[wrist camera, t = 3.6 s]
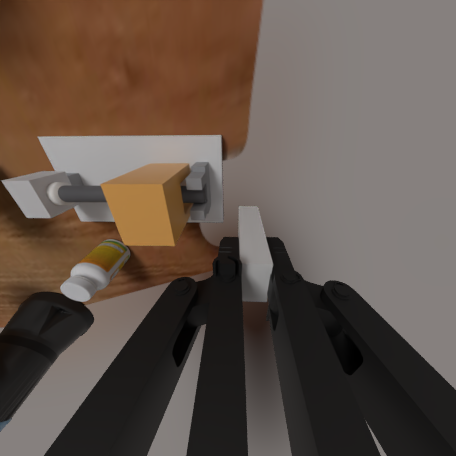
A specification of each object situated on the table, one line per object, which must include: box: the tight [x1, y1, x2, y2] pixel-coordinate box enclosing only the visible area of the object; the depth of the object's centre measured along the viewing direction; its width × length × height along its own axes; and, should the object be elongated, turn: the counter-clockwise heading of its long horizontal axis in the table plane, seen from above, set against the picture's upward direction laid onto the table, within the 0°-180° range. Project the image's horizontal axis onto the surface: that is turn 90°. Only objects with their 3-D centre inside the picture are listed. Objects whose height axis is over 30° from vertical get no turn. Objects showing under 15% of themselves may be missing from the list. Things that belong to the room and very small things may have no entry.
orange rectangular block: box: [100, 163, 194, 246], centre depth 19 cm, size 6×5×9 cm
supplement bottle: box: [60, 239, 130, 302], centre depth 28 cm, size 5×5×10 cm
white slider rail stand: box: [1, 135, 224, 223], centre depth 22 cm, size 12×23×8 cm, turn 90°
